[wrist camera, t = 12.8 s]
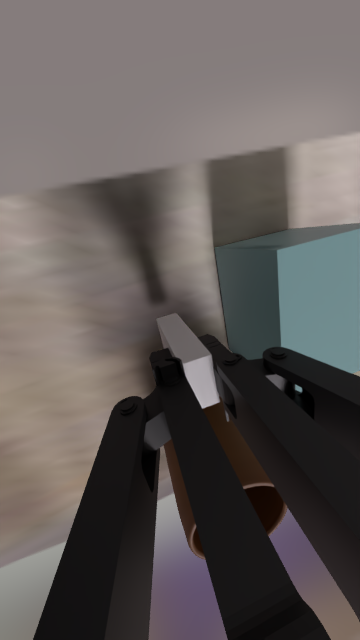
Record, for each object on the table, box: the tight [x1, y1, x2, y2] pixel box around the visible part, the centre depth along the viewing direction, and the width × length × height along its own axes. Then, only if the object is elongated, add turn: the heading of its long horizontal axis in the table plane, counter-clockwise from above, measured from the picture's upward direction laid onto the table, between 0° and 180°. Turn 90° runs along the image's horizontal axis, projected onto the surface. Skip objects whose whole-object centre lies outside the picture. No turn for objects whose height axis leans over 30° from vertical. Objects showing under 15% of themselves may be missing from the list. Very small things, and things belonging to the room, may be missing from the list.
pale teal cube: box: [215, 223, 360, 392], centre depth 17 cm, size 7×9×8 cm
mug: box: [164, 396, 288, 560], centre depth 19 cm, size 12×8×9 cm, turn 95°
